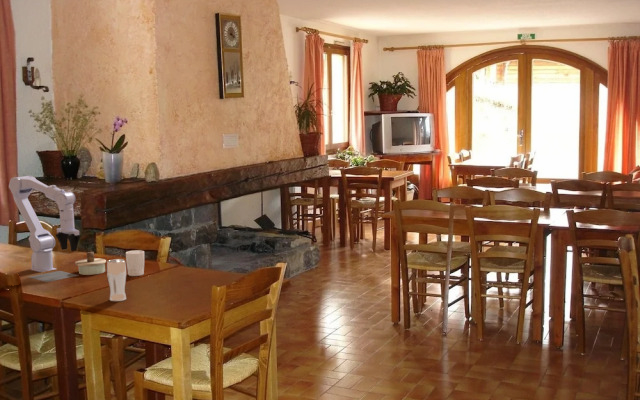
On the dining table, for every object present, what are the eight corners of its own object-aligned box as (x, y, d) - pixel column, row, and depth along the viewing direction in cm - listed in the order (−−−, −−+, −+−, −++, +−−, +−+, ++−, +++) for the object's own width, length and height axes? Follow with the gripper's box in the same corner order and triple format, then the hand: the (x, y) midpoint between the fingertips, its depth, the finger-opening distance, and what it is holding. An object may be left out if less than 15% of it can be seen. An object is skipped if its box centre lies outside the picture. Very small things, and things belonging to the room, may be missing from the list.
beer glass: (110, 297, 275) (108, 259, 273) (128, 296, 275) (127, 258, 274) (106, 302, 268) (104, 262, 266) (125, 301, 269) (123, 262, 267)
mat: (28, 278, 308) (28, 277, 307) (59, 272, 319) (59, 270, 319) (47, 283, 298) (47, 282, 298) (79, 276, 310) (78, 275, 310)
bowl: (74, 273, 316) (73, 263, 315) (95, 269, 324) (95, 259, 324) (88, 277, 309) (87, 266, 308) (110, 272, 317) (109, 262, 317)
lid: (69, 263, 315) (68, 253, 314) (95, 258, 325) (94, 248, 324) (86, 267, 306) (85, 256, 306) (112, 262, 316) (111, 251, 316)
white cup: (140, 276, 308) (139, 254, 307) (123, 276, 310) (122, 253, 309) (148, 272, 316) (147, 250, 315) (131, 272, 318) (130, 250, 316)
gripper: (49, 219, 315) (51, 249, 317) (68, 222, 306) (70, 253, 308) (64, 217, 321) (66, 247, 322) (82, 219, 312) (84, 250, 313)
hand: (69, 250), depth 315 cm, fingers open, 7 cm apart
